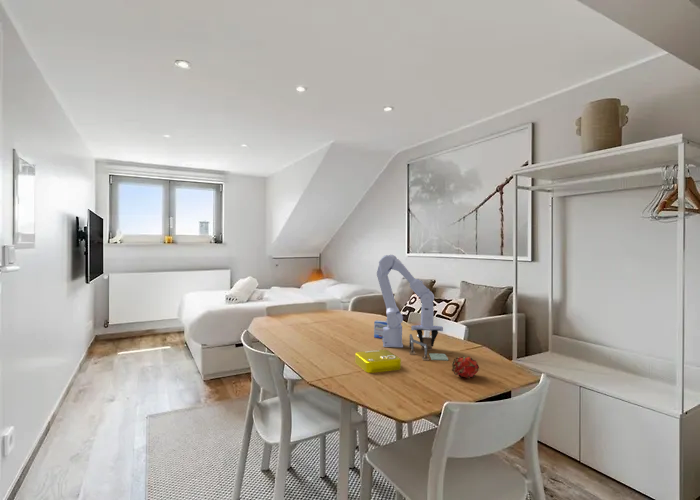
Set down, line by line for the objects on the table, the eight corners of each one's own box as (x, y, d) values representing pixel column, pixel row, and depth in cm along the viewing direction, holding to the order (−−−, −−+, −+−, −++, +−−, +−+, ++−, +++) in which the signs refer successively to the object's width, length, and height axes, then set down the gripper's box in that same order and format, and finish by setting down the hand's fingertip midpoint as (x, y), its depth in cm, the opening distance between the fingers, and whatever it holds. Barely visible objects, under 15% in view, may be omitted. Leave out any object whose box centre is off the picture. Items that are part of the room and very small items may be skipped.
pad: (431, 359, 159) (431, 358, 159) (429, 354, 167) (429, 353, 167) (448, 360, 158) (448, 359, 158) (445, 354, 166) (445, 353, 166)
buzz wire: (411, 359, 158) (411, 344, 158) (407, 346, 179) (408, 333, 179) (428, 360, 158) (429, 345, 158) (423, 347, 178) (423, 333, 178)
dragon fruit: (449, 382, 137) (475, 383, 141) (462, 374, 131) (489, 376, 135) (443, 359, 142) (469, 361, 146) (456, 351, 136) (482, 353, 140)
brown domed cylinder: (421, 350, 173) (422, 339, 173) (420, 347, 178) (420, 336, 178) (432, 350, 173) (433, 339, 173) (431, 347, 178) (431, 337, 178)
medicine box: (373, 337, 195) (374, 321, 195) (375, 335, 200) (375, 319, 200) (388, 339, 193) (388, 322, 193) (390, 337, 197) (390, 320, 197)
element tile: (386, 359, 160) (386, 348, 160) (402, 370, 146) (402, 358, 146) (353, 362, 155) (353, 350, 155) (367, 374, 141) (367, 361, 141)
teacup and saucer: (415, 338, 196) (415, 331, 196) (420, 335, 203) (420, 328, 203) (432, 341, 192) (432, 333, 192) (436, 337, 199) (436, 330, 199)
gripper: (412, 318, 172) (411, 347, 172) (444, 319, 171) (443, 348, 171) (411, 315, 179) (410, 343, 179) (441, 316, 178) (441, 344, 178)
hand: (426, 345), depth 176 cm, fingers closed on brown domed cylinder, 4 cm apart
